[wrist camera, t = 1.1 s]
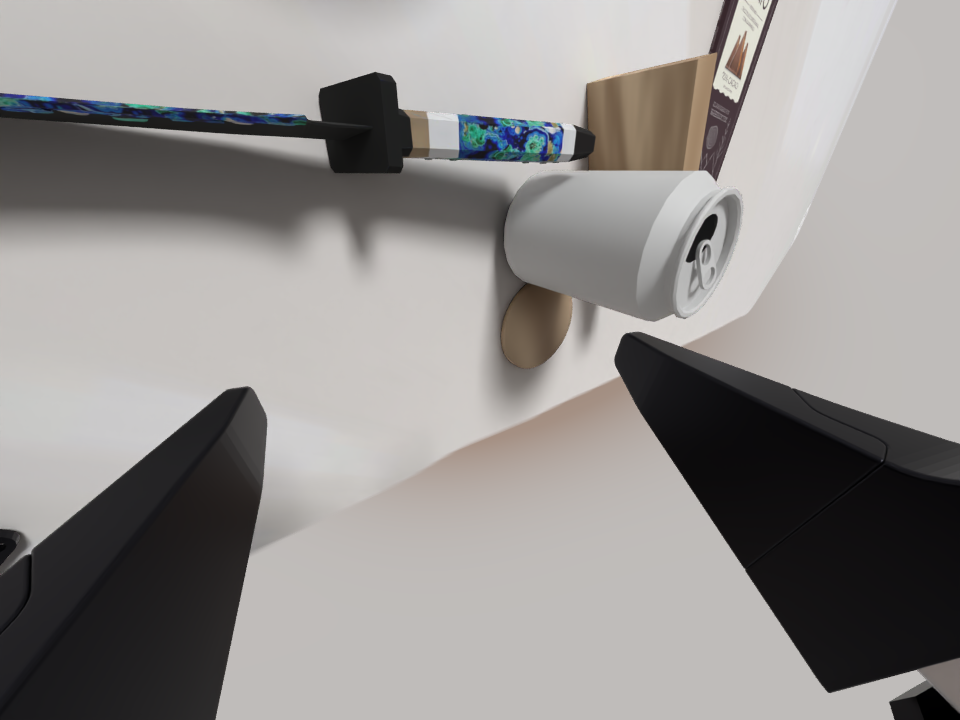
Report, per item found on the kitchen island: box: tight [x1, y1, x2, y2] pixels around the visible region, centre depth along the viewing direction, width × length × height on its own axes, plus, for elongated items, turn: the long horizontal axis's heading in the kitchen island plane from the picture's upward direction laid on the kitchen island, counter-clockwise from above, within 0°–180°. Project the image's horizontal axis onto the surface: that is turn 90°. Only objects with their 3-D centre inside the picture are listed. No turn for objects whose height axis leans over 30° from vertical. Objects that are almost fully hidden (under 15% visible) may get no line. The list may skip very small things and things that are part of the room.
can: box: [504, 171, 743, 322], centre depth 20 cm, size 8×8×12 cm
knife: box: [0, 72, 596, 173], centre depth 12 cm, size 31×3×4 cm, turn 86°
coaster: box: [501, 283, 572, 369], centre depth 29 cm, size 8×8×1 cm
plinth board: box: [587, 53, 717, 171], centre depth 25 cm, size 2×14×7 cm, turn 16°
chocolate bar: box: [698, 0, 778, 181], centre depth 32 cm, size 9×1×18 cm
